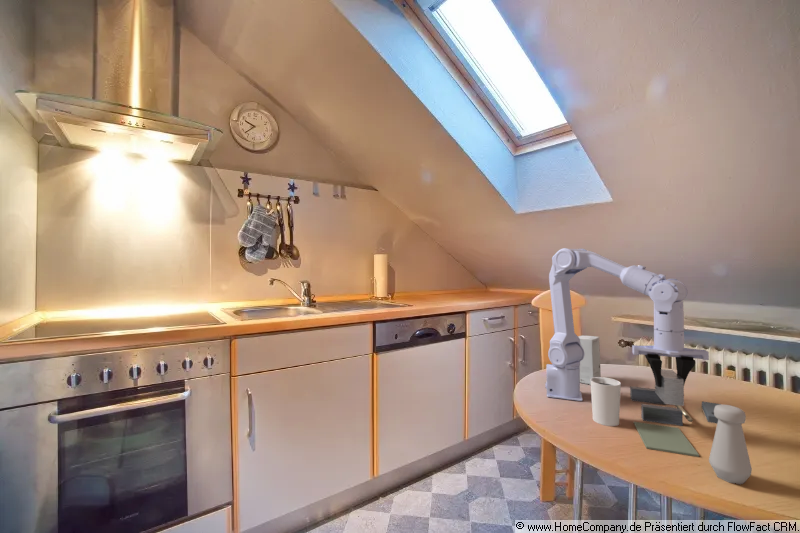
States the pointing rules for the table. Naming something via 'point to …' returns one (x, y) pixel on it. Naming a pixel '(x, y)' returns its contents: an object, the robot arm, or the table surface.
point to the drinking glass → (605, 400)
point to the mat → (665, 439)
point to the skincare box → (590, 359)
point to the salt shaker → (730, 446)
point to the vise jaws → (657, 408)
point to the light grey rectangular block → (671, 388)
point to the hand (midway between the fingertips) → (669, 386)
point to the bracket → (709, 411)
